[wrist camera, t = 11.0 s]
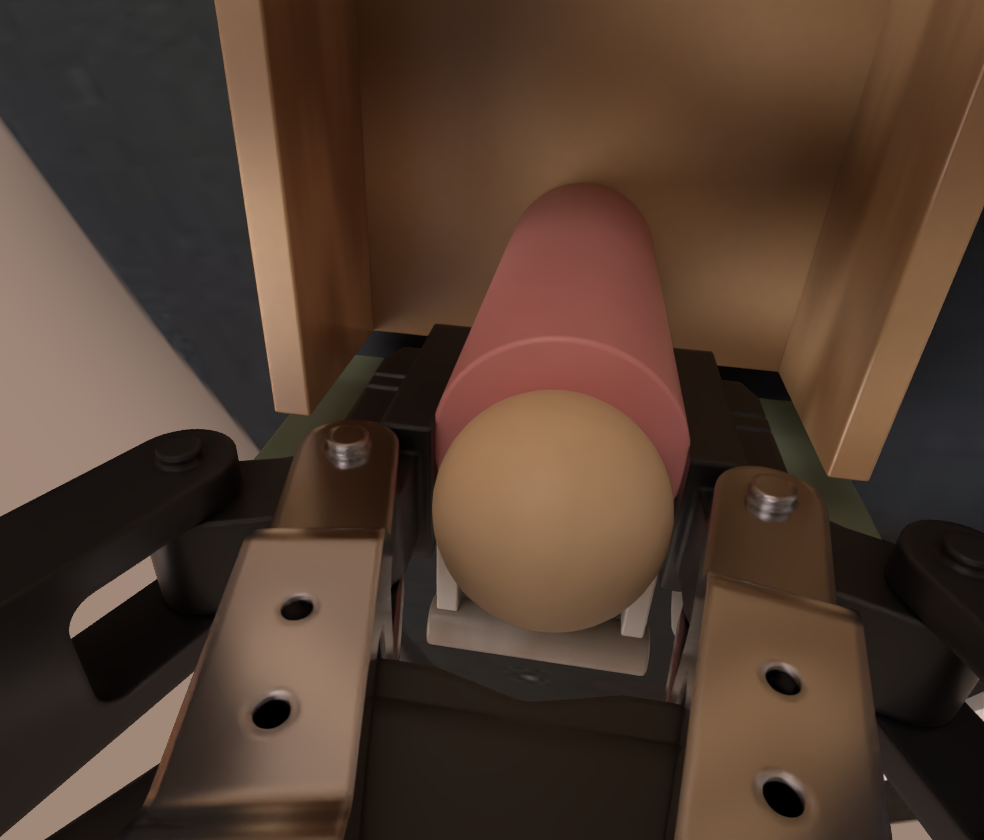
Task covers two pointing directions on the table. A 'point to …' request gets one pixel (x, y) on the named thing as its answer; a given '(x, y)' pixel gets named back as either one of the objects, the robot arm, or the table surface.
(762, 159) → the drawer
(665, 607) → the table surface
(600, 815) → the robot arm
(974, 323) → the table surface
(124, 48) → the table surface
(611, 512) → the pink game pawn
